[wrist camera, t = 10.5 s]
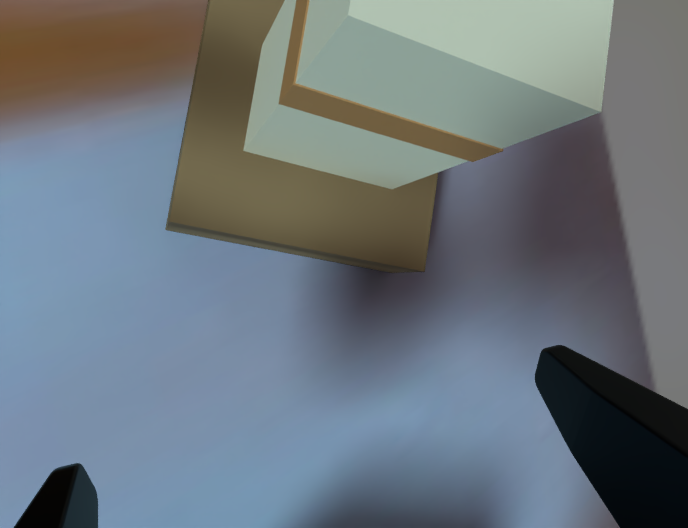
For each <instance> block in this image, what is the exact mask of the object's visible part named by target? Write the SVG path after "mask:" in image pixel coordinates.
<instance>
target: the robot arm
mask: <svg viewBox="0 0 688 528" xmlns="http://www.w3.org/2000/svg"><path fill="white" fill-rule="evenodd" d="M535 383H536V386H537V388H538V390H539V392H540V394H541V396H542V398H543V400H544V402H545V404H546V406H547V407H548V409H549V411H550V413H551V415H552V417H553V419H554V421H555V423H556V425H557V427H558V429H559V431H560V433H561V434H562V436H563V438H564V440H565V442H566V444H567V446H568V447H569V449H570V451H571V453H572V454H573V456H574V458H575V459H576V461H577V462H578V464H579V465H580V467H581V468H582V470H583V471H584V473H585V475H586V476H587V478H588V479H589V481H590V482H591V484H592V485H593V487H594V488H595V490H596V491H597V493H598V494H599V496H600V498H601V499H602V501H603V502H604V504H605V505H606V507H607V508H608V510H609V511H610V513H611V514H612V516H613V517H614V519H615V520H616V522H617V524H618V525H619V527H620V528H688V409H687V408H685V407H682V406H680V405H678V404H677V403H675V402H673V401H671V400H669V399H667V398H665V397H663V396H661V395H659V394H657V393H655V392H653V391H651V390H649V389H648V388H646V387H644V386H642V385H640V384H638V383H636V382H634V381H632V380H630V379H628V378H626V377H624V376H622V375H620V374H618V373H616V372H614V371H612V370H610V369H608V368H606V367H605V366H603V365H601V364H599V363H597V362H595V361H593V360H591V359H589V358H587V357H585V356H583V355H581V354H579V353H577V352H575V351H573V350H571V349H569V348H567V347H565V346H562V345H556V346H552V347H548V348H545V349H543V350H542V351H541V353H540V357H539V361H538V365H537V369H536V372H535ZM14 528H98V498H97V492H96V489H95V487H94V485H93V483H92V482H91V480H90V478H89V476H88V474H87V472H86V471H85V469H84V467H83V466H82V465H81V464H79V463H75V464H71V465H67V466H63V467H59V468H56V469H55V470H54V471H52V472H51V474H50V475H49V477H48V478H47V479H46V481H45V482H44V484H43V485H42V487H41V488H40V490H39V491H38V493H37V494H36V496H35V497H34V499H33V500H32V501H31V503H30V504H29V506H28V507H27V509H26V510H25V512H24V513H23V515H22V516H21V518H20V519H19V520H18V522H17V523H16V525H15V526H14Z"/></svg>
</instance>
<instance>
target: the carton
mask: <svg viewBox="0 0 688 528" xmlns="http://www.w3.org/2000/svg"><path fill="white" fill-rule="evenodd" d="M613 2H614V0H285V1H284V3H283V5H282V7H281V9H280V11H279V13H278V15H277V17H276V19H275V21H274V23H273V25H272V27H271V29H270V31H269V33H268V35H267V36H266V38H265V40H264V42H263V44H262V49H261V54H260V60H259V66H258V71H257V77H256V82H255V88H254V94H253V99H252V105H251V110H250V116H249V122H248V127H247V133H246V138H245V144H244V150H243V151H246V152H250V153H253V154H257V155H261V156H265V157H269V158H273V159H277V160H281V161H284V162H288V163H292V164H296V165H300V166H304V167H308V168H311V169H315V170H319V171H323V172H327V173H331V174H335V175H338V176H342V177H346V178H350V179H354V180H358V181H362V182H366V183H369V184H373V185H377V186H381V187H385V188H389V189H394V188H397V187H400V186H402V185H405V184H408V183H410V182H413V181H416V180H419V179H421V178H424V177H427V176H429V175H432V174H435V173H438V172H440V171H443V170H446V169H448V168H451V167H454V166H457V165H459V164H462V163H465V162H467V161H471V162H474V161H477V160H480V159H482V158H485V157H488V156H491V155H494V154H496V153H499V152H502V151H503V148H505V147H508V146H511V145H514V144H516V143H519V142H522V141H524V140H527V139H530V138H533V137H535V136H538V135H541V134H543V133H546V132H549V131H552V130H554V129H557V128H560V127H562V126H565V125H568V124H571V123H573V122H576V121H579V120H581V119H584V118H587V117H590V116H592V115H595V114H598V113H600V112H601V111H602V102H603V93H604V84H605V74H606V64H607V56H608V48H609V47H608V46H609V38H610V30H611V21H612V12H613Z"/></svg>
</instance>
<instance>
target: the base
mask: <svg viewBox="0 0 688 528" xmlns="http://www.w3.org/2000/svg"><path fill="white" fill-rule="evenodd" d="M284 1H285V0H208V5H207V10H206V16H205V21H204V26H203V32H202V37H201V42H200V48H199V53H198V58H197V64H196V69H195V74H194V80H193V85H192V90H191V96H190V101H189V106H188V112H187V117H186V122H185V128H184V133H183V138H182V144H181V149H180V154H179V160H178V165H177V170H176V176H175V181H174V186H173V192H172V197H171V202H170V208H169V213H168V218H167V224H166V229H165V230H169V231H174V232H179V233H185V234H190V235H195V236H200V237H206V238H211V239H216V240H221V241H227V242H232V243H237V244H242V245H248V246H253V247H258V248H264V249H269V250H274V251H279V252H285V253H290V254H295V255H300V256H306V257H311V258H316V259H321V260H327V261H332V262H337V263H342V264H348V265H353V266H358V267H363V268H369V269H374V270H379V271H385V272H390V273H399V272H425V265H426V257H427V250H428V243H429V236H430V228H431V221H432V214H433V207H434V200H435V192H436V185H437V178H438V173H435V174H432V175H429V176H427V177H424V178H421V179H419V180H416V181H413V182H410V183H408V184H405V185H402V186H400V187H397V188H394V189H389V188H385V187H381V186H377V185H373V184H369V183H366V182H362V181H358V180H354V179H350V178H346V177H342V176H338V175H335V174H331V173H327V172H323V171H319V170H315V169H311V168H308V167H304V166H300V165H296V164H292V163H288V162H284V161H281V160H277V159H273V158H269V157H265V156H261V155H257V154H253V153H250V152H246V151H243V150H244V144H245V138H246V133H247V127H248V122H249V116H250V110H251V105H252V99H253V94H254V88H255V82H256V77H257V71H258V66H259V60H260V54H261V49H262V44H263V42H264V40H265V38H266V36H267V35H268V33H269V31H270V29H271V27H272V25H273V23H274V21H275V19H276V17H277V15H278V13H279V11H280V9H281V7H282V5H283V3H284Z"/></svg>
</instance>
